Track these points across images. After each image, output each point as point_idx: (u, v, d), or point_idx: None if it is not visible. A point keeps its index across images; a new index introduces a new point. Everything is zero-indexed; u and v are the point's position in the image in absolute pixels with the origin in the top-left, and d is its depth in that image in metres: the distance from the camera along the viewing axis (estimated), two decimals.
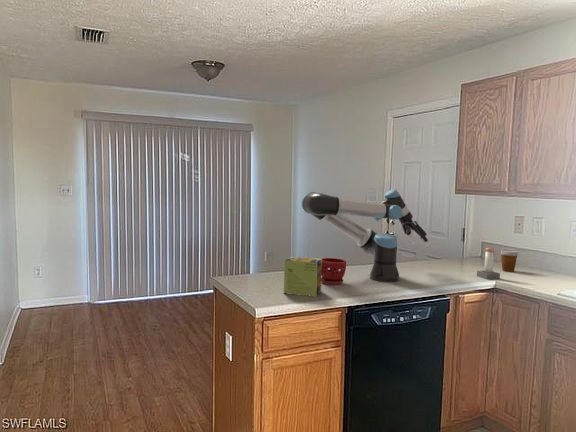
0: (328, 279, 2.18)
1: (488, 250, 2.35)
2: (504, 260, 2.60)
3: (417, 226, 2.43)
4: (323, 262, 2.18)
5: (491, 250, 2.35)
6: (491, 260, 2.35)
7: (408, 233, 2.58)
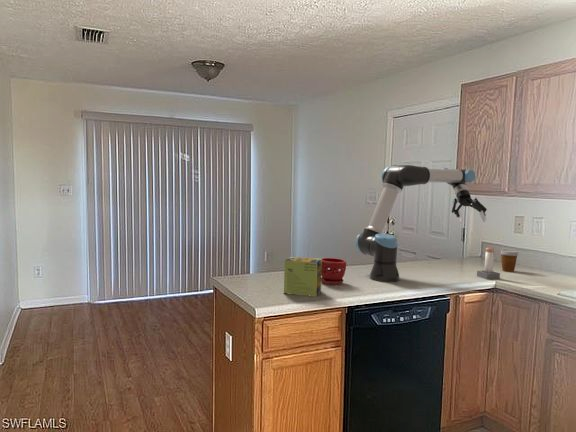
0: (328, 279, 2.18)
1: (488, 250, 2.35)
2: (504, 260, 2.60)
3: None
4: (323, 262, 2.18)
5: (491, 250, 2.35)
6: (491, 260, 2.35)
7: None
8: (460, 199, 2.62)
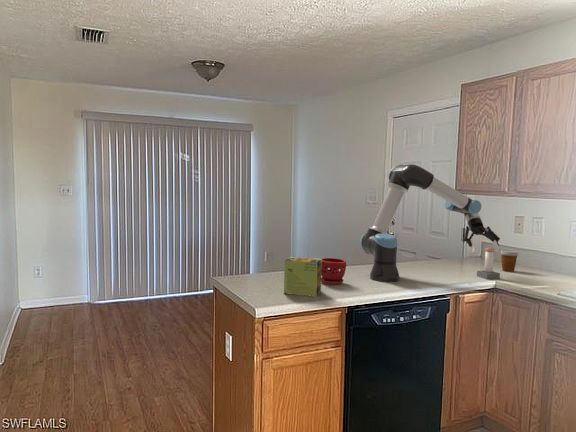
0: (328, 279, 2.18)
1: (488, 250, 2.36)
2: (504, 260, 2.60)
3: None
4: (323, 262, 2.18)
5: (491, 250, 2.35)
6: (491, 260, 2.36)
7: None
8: (472, 227, 2.51)
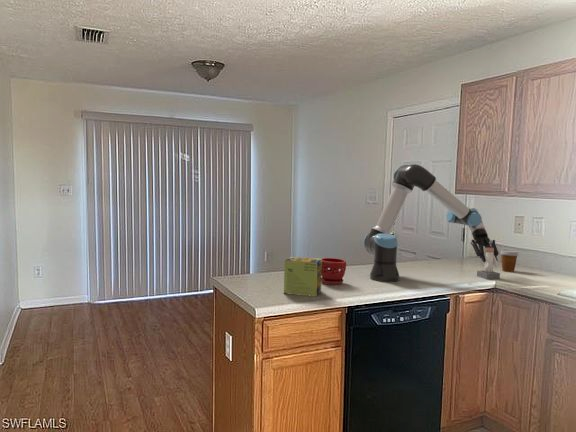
0: (328, 279, 2.18)
1: (488, 250, 2.35)
2: (504, 260, 2.60)
3: None
4: (323, 262, 2.18)
5: (491, 250, 2.35)
6: (491, 260, 2.35)
7: None
8: (477, 238, 2.44)
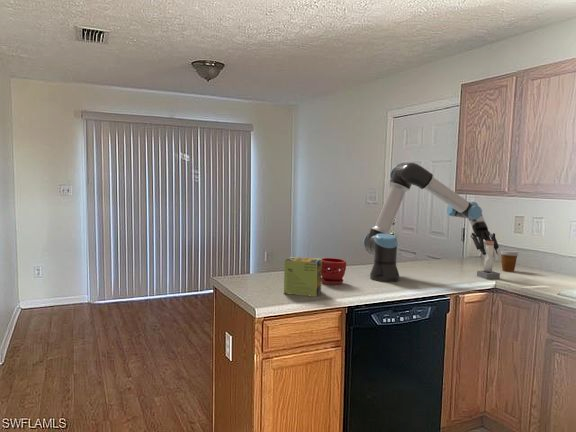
0: (328, 279, 2.18)
1: (488, 243, 2.35)
2: (504, 260, 2.60)
3: None
4: (323, 262, 2.18)
5: (491, 243, 2.35)
6: (491, 253, 2.35)
7: (483, 247, 2.38)
8: (477, 232, 2.44)
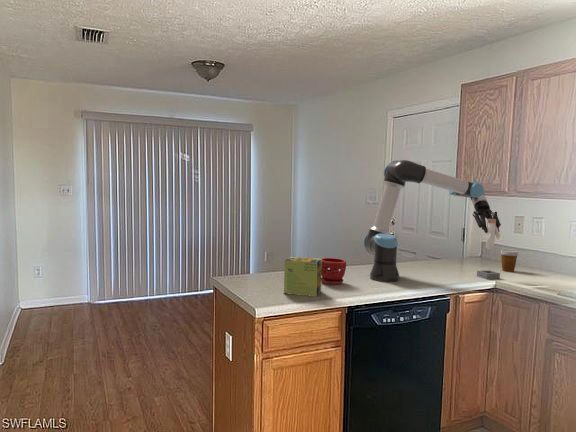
0: (328, 279, 2.18)
1: (490, 221, 2.34)
2: (504, 260, 2.60)
3: None
4: (323, 262, 2.18)
5: (493, 221, 2.34)
6: (493, 231, 2.34)
7: None
8: (479, 210, 2.43)
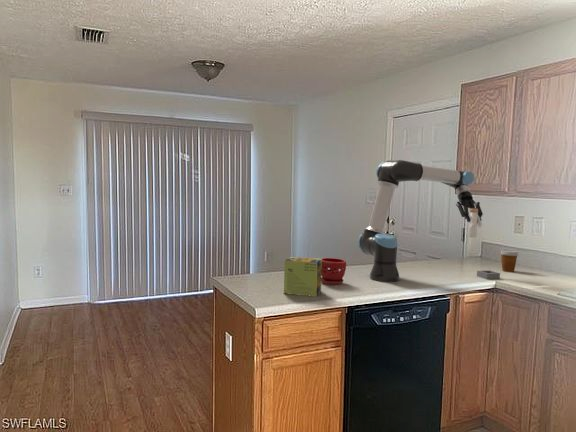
0: (328, 279, 2.18)
1: (472, 211, 2.45)
2: (504, 260, 2.60)
3: None
4: (323, 262, 2.18)
5: (475, 210, 2.44)
6: (475, 220, 2.45)
7: None
8: (462, 200, 2.54)
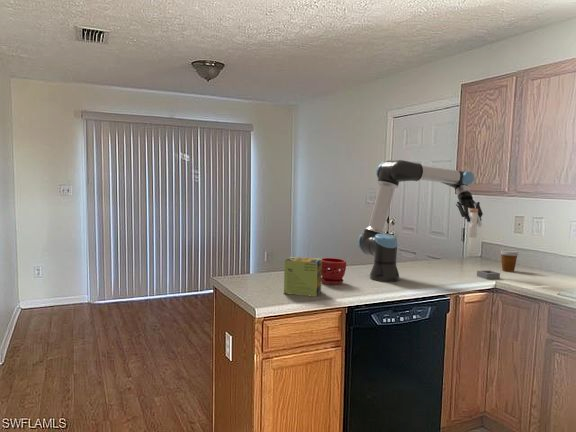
0: (328, 279, 2.18)
1: (472, 211, 2.45)
2: (504, 260, 2.60)
3: None
4: (323, 262, 2.18)
5: (475, 210, 2.44)
6: (475, 220, 2.45)
7: None
8: (462, 200, 2.54)
